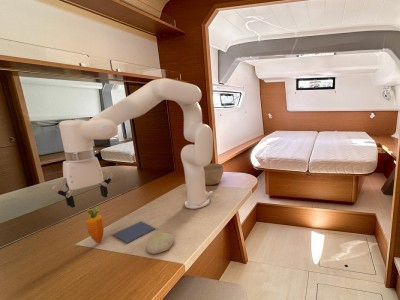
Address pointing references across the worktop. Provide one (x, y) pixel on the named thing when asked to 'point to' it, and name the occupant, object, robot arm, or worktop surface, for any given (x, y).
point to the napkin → (134, 232)
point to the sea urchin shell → (159, 243)
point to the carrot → (95, 225)
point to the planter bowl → (213, 173)
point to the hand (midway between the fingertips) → (89, 201)
